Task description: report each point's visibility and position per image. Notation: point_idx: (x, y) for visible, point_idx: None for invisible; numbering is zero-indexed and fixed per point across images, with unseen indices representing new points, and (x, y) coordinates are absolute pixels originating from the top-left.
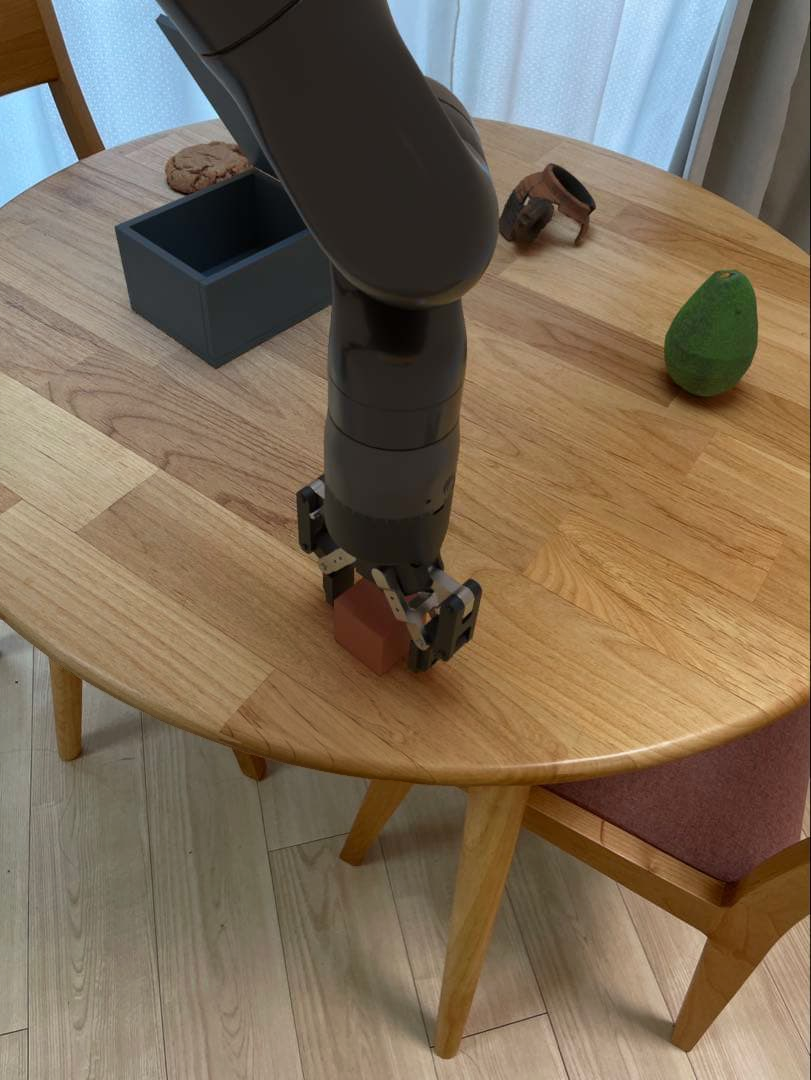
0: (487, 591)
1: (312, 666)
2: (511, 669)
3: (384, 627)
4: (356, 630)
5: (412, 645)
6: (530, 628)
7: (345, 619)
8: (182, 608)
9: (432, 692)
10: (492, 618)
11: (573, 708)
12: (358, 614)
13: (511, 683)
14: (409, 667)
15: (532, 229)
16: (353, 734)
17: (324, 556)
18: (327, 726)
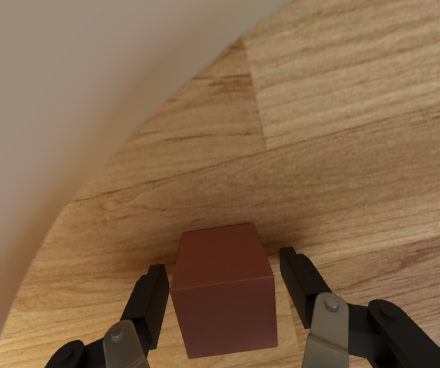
0: None
1: (240, 184)
2: None
3: (186, 302)
4: (222, 261)
5: (142, 310)
6: None
7: (243, 262)
8: (419, 106)
9: (137, 259)
10: (174, 337)
11: (56, 335)
12: (228, 289)
13: (106, 314)
14: (157, 267)
15: None
16: (138, 170)
17: (347, 337)
18: (164, 152)
